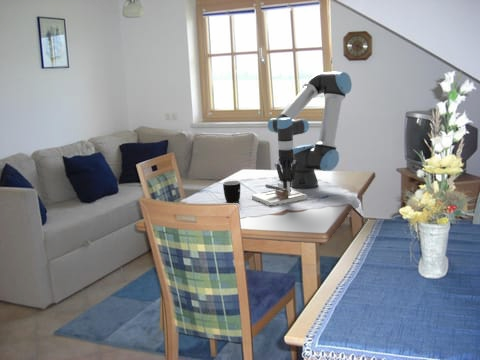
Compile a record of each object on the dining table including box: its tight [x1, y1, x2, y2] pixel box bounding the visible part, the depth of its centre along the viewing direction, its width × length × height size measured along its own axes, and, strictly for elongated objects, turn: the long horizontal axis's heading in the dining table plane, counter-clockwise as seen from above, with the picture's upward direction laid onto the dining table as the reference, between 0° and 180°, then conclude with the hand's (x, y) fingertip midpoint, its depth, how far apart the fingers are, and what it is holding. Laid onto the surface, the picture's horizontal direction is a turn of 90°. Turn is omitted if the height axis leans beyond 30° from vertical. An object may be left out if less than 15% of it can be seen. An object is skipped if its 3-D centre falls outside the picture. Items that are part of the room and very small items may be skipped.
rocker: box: [265, 183, 292, 192], centre depth 294 cm, size 14×4×2 cm, turn 119°
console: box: [251, 189, 308, 206], centre depth 294 cm, size 22×19×4 cm
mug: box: [222, 180, 241, 204], centre depth 295 cm, size 12×9×10 cm
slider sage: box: [277, 181, 284, 188], centre depth 303 cm, size 4×4×5 cm
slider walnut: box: [277, 189, 289, 199], centre depth 286 cm, size 4×4×5 cm
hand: (287, 194), depth 288 cm, fingers closed
